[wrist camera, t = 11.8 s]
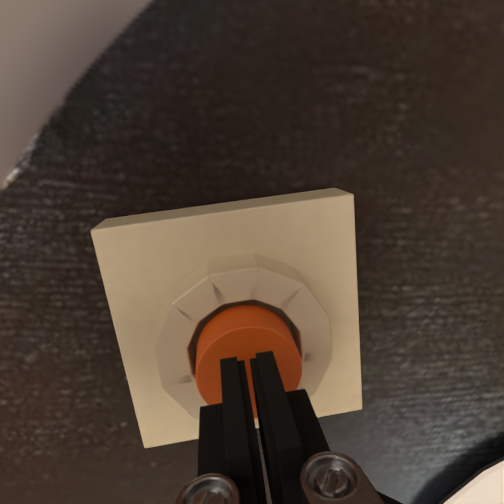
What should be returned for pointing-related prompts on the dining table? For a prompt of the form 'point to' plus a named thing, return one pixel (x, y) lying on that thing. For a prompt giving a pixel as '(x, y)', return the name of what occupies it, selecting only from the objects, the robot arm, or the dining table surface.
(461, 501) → the plate
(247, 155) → the dining table surface
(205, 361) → the button
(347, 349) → the square push button base
